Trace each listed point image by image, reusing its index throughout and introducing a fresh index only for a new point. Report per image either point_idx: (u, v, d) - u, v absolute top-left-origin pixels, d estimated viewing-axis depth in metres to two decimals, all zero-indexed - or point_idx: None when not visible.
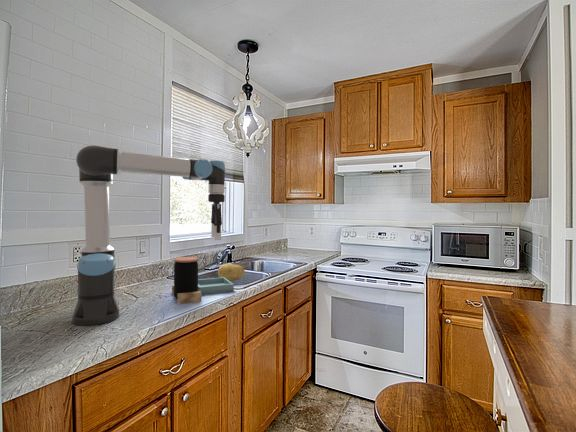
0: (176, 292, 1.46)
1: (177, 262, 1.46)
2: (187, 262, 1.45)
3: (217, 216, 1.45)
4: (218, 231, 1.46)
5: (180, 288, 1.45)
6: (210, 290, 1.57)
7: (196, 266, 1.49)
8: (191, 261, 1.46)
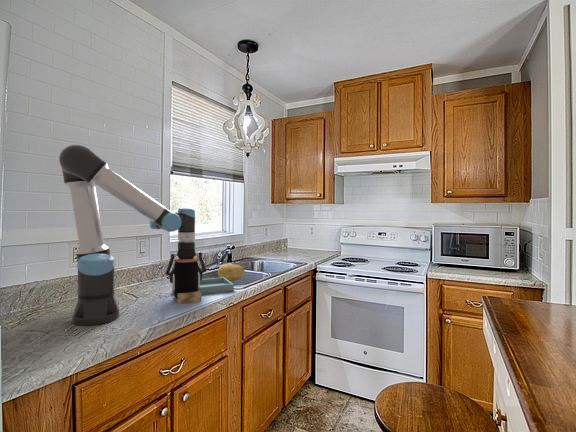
0: (176, 292, 1.46)
1: (177, 262, 1.46)
2: (187, 262, 1.45)
3: None
4: None
5: (180, 288, 1.45)
6: (210, 290, 1.57)
7: (196, 266, 1.49)
8: (191, 261, 1.46)
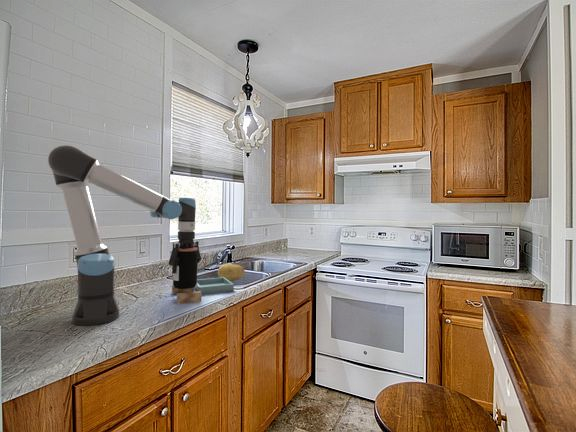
0: (181, 282, 1.45)
1: (182, 251, 1.45)
2: (193, 251, 1.47)
3: (171, 256, 1.43)
4: (173, 272, 1.43)
5: (186, 277, 1.45)
6: (210, 290, 1.57)
7: None
8: (195, 250, 1.49)
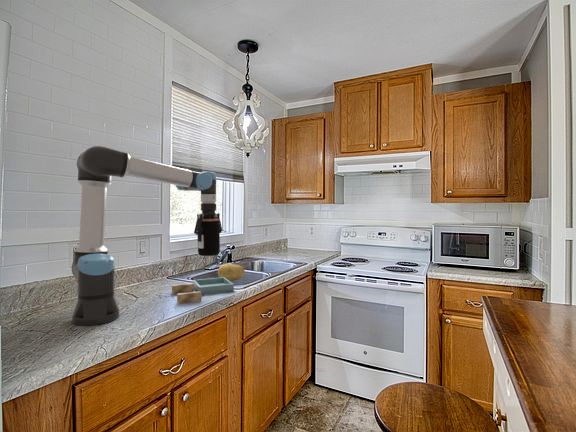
0: (206, 249, 1.57)
1: (206, 221, 1.57)
2: (215, 221, 1.59)
3: (196, 226, 1.55)
4: (198, 240, 1.56)
5: (210, 245, 1.57)
6: (210, 290, 1.57)
7: None
8: (218, 220, 1.61)
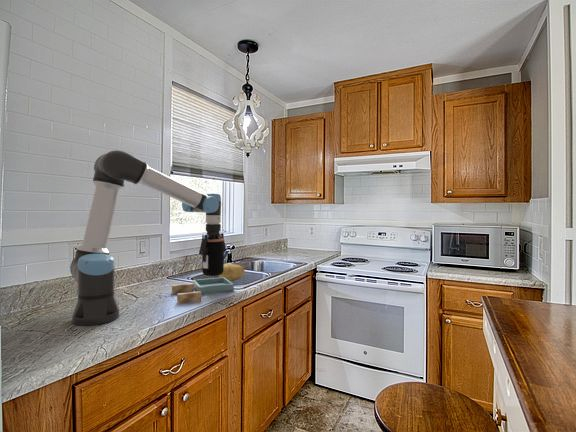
0: (210, 269, 1.61)
1: (211, 242, 1.60)
2: (220, 241, 1.63)
3: (201, 246, 1.59)
4: (203, 260, 1.59)
5: (215, 265, 1.61)
6: (210, 290, 1.57)
7: None
8: (222, 240, 1.64)
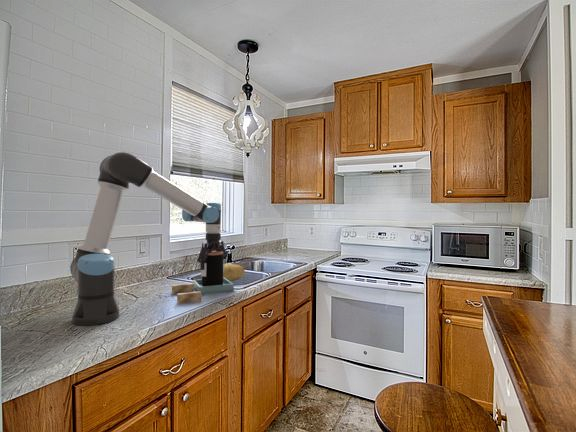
0: (210, 282, 1.61)
1: (210, 255, 1.61)
2: (219, 254, 1.63)
3: (200, 254, 1.58)
4: (201, 268, 1.58)
5: (214, 278, 1.61)
6: (210, 290, 1.57)
7: None
8: (222, 253, 1.64)
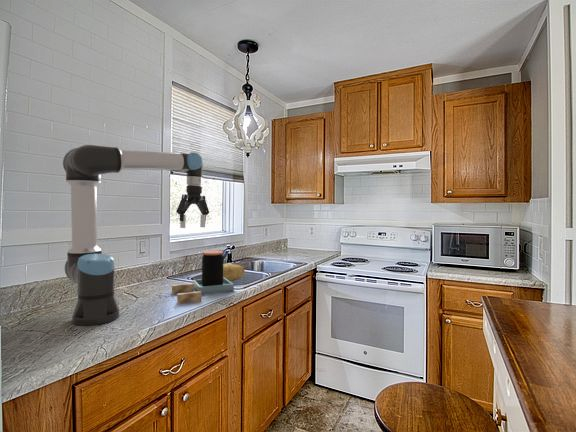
0: (210, 282, 1.61)
1: (210, 255, 1.61)
2: (219, 254, 1.63)
3: (179, 205, 1.56)
4: (180, 219, 1.56)
5: (214, 278, 1.61)
6: (210, 290, 1.57)
7: None
8: (222, 253, 1.64)
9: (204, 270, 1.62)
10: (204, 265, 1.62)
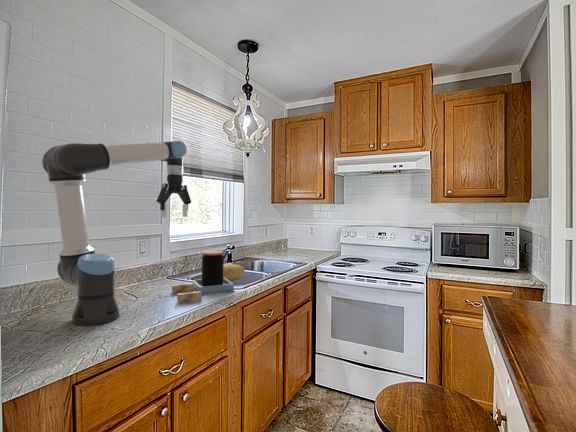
0: (210, 282, 1.61)
1: (210, 255, 1.61)
2: (219, 254, 1.63)
3: (159, 194, 1.54)
4: (161, 208, 1.55)
5: (214, 278, 1.61)
6: (210, 290, 1.57)
7: None
8: (222, 253, 1.64)
9: (204, 270, 1.62)
10: (204, 265, 1.62)
